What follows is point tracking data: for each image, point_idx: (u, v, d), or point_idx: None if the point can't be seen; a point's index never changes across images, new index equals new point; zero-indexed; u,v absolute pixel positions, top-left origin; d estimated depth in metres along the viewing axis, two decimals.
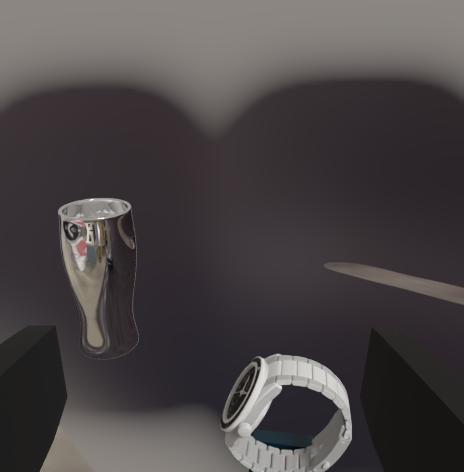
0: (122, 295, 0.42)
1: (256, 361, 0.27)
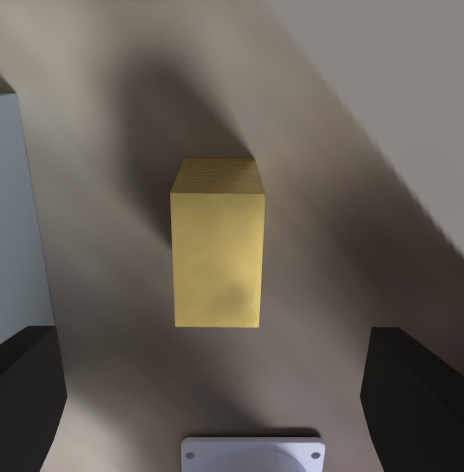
0: None
1: None
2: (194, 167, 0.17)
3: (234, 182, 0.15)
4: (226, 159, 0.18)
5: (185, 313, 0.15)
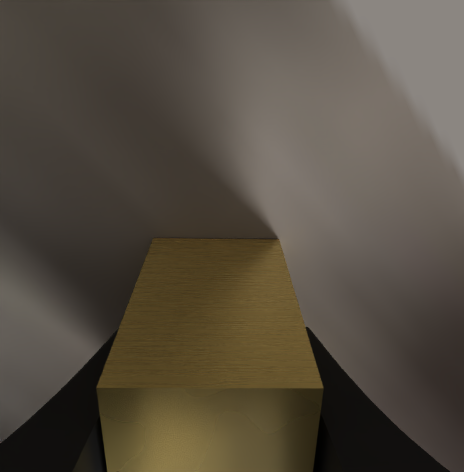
0: None
1: None
2: (168, 269, 0.09)
3: (248, 330, 0.07)
4: (228, 241, 0.10)
5: None
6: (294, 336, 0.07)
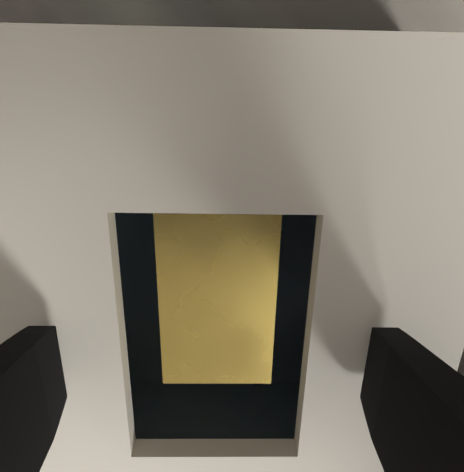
0: None
1: None
2: None
3: None
4: None
5: (176, 367, 0.12)
6: None
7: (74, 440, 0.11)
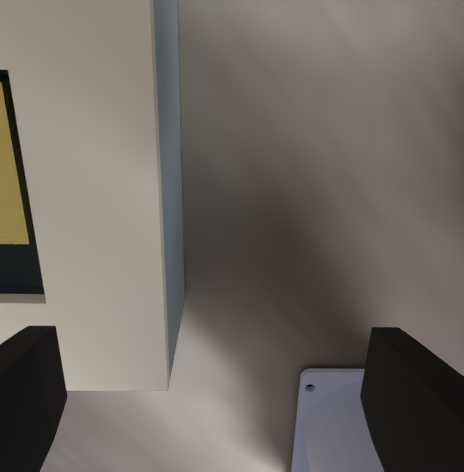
0: None
1: None
2: None
3: None
4: None
5: None
6: None
7: None
